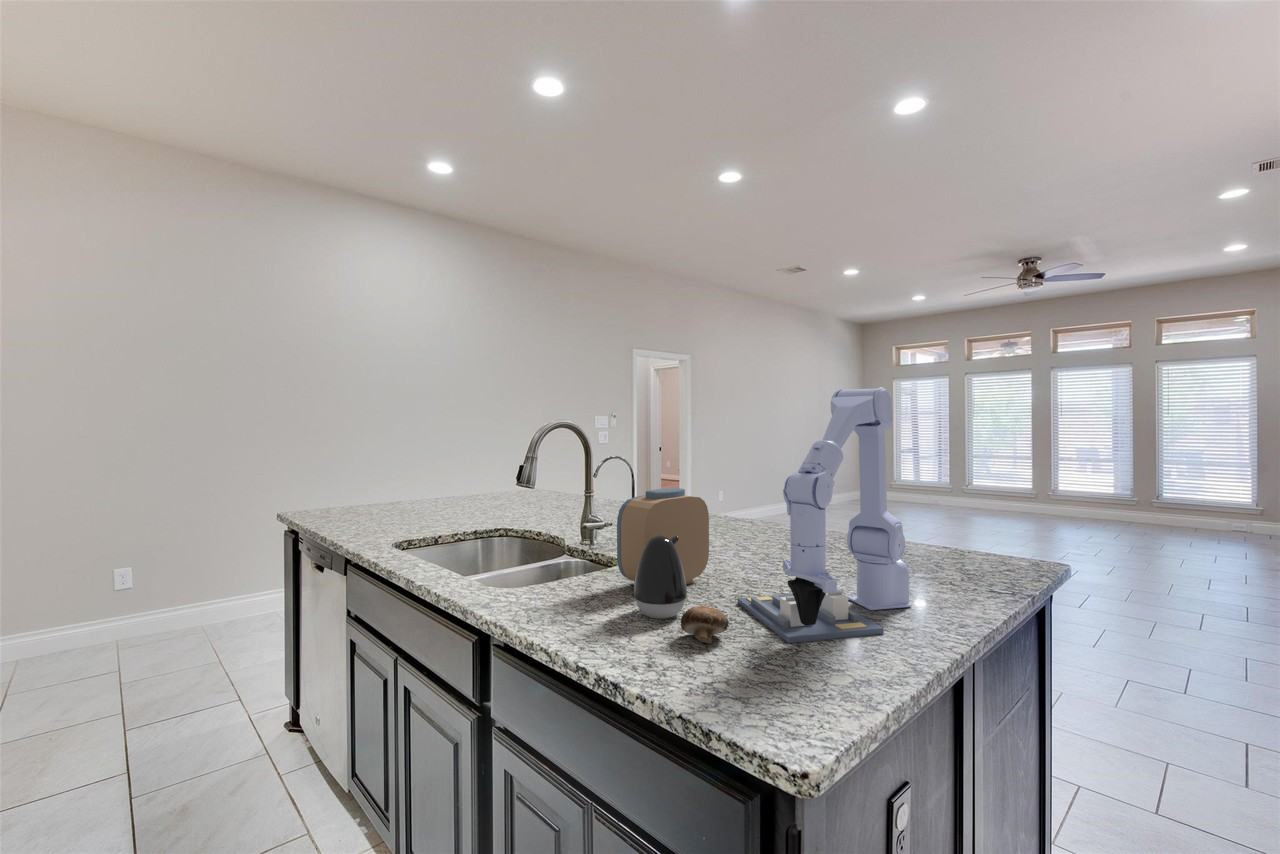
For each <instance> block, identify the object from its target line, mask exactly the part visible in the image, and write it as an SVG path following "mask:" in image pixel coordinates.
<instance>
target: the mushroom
mask: <svg viewBox="0 0 1280 854" xmlns="http://www.w3.org/2000/svg"><path fill="white" fill-rule="evenodd" d="M729 623H730V622H729V618H728V617H727V615H726V614H725V613H723V612H722V611H720V610H718V609H716V608H714V607H709V606H706V605H697V606H692V607H691V608H689V609H687V610H686V611H685V612H684V613H683V614H682V616H681V620H680V627H681V629H682V631H684V632H685V633H687V634H688V635H689V634H691V635H694V637H695V638H696V639H697V640H698V641H700V642H703V643H705V644H709V645H711V644H713V641H712V640H713V639H712V638H713V636H714V635H717V634H721V633H724V632H725V631H727V629H728V627H729Z"/></svg>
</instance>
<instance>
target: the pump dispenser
mask: <svg viewBox="0 0 1280 854" xmlns="http://www.w3.org/2000/svg"><path fill="white" fill-rule="evenodd" d="M678 540H679V538H678V537H677V536H675V537H673V538H672V539H671V540H670V539H669V538H667V537H665V536H655V537H653V538H651V539H650V540H649V541H648V542H647V544H646V546H645V548H644V550H643V552H642V555H641V558H640V561H639V564H638V568H637V572H636V578H635V585H633V597H634V599H635V602H636V606H637V607H638V609H639V611H640V612H641V613H642V614H643V615H645V616H647V617H648V618H651V619H655V620H666V619H671V618H672V617H675V616H676V615H678V614H679V613H680V612H681V610H682V609H683V607H684V605H685V601H686V599H687V598H688V590H687V589H688V588H687V584H686V581H685V575H684V570H683V567H682V563H681V560H680V557H679V554H678V552H677V549H676V547H675V546H674V545H675V544H676V543H677V541H678Z"/></svg>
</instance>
